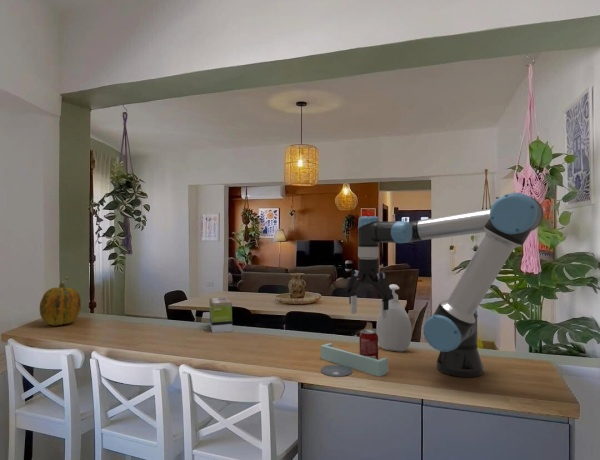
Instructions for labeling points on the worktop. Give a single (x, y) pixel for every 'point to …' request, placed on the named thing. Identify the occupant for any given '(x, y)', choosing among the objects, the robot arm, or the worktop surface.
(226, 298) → the tea box
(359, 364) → the divider
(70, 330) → the worktop surface
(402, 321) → the soap bottle
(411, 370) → the worktop surface
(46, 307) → the pumpkin
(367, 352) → the soda can
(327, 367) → the coaster
